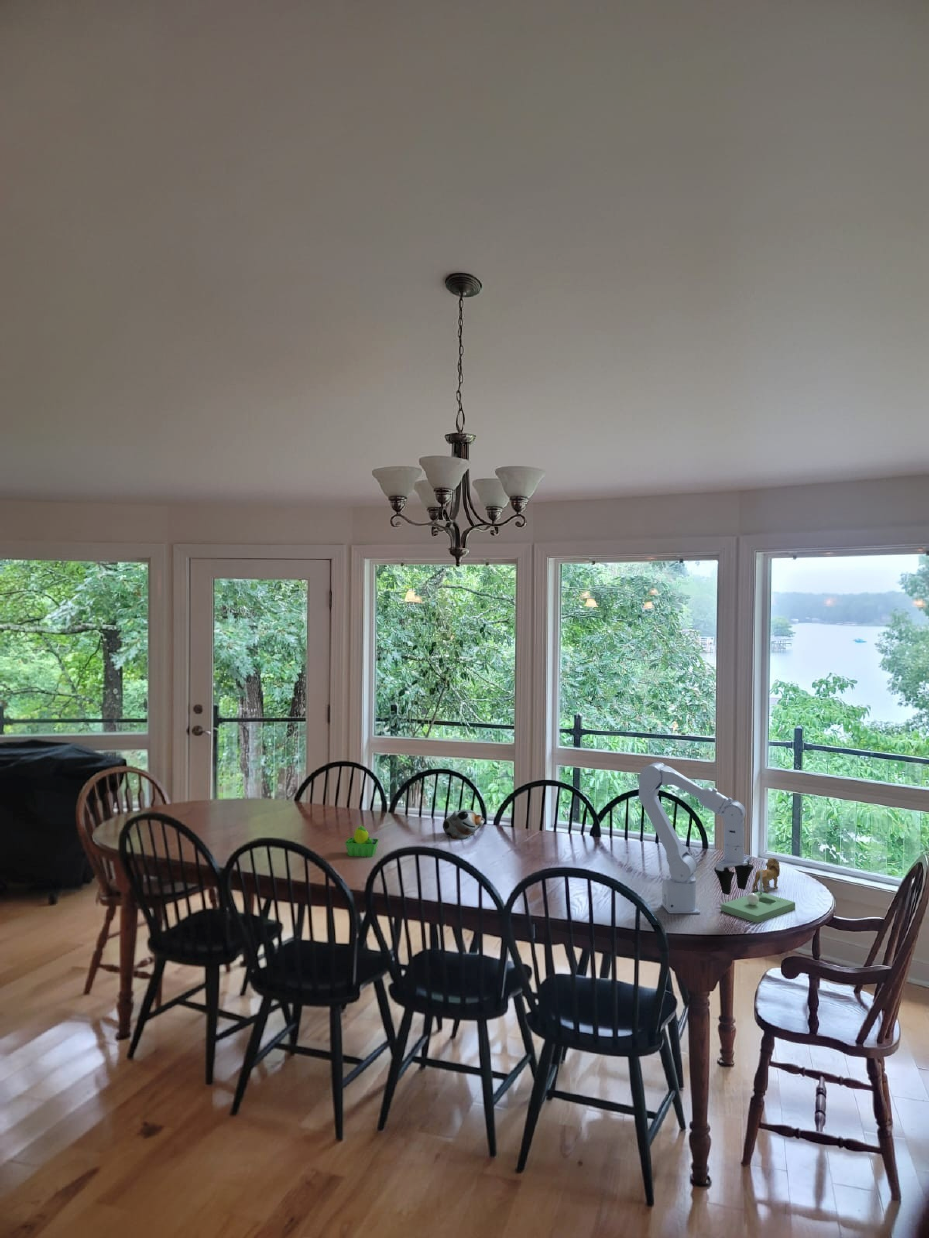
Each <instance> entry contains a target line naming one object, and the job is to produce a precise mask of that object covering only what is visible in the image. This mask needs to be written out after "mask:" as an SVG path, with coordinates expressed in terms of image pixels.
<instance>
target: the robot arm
mask: <svg viewBox="0 0 929 1238" xmlns="http://www.w3.org/2000/svg"><path fill="white" fill-rule="evenodd" d="M662 786H675V787H676V788H678V789H681V790H682V791H683V792H686V793H688V794H690V795H692V796H694V797H696V798H697V800H698V802H699V804H700V805H701V806H703V807H705V809H708V810H709V811H711V812H713V813H714V814H715V815H717V816H718V817H719V816H721V818H722V820H723V821H724V823H723V824H724V825H723V857H722V858H721V860H719V861H718V862H716V863H715V867H714V873H715V875H716V876H717V878H718V881H719V885H720V888H721V892H722V894H723V895H727V896H729V895H731V891H732V882H733V878H734V875H736V885H737V888H738V889H739V890H743V891H745V890H746V888H747V884H748V881H749V878H750V875H751V873H752V871H753V870H754V865H753V864H751V863H752V856H751V855H749V854H745V821H744V819H745V817H746V813H747V811H746V807H745V805H743V804H742V803H741V802H740V801H739V800H734V799H733V798H731V797H727V796H725V795H724V794H722V793H720V792H718V791H719V789H717V788H715V787H713V788H712V787H705V788H703V787H701V786H700V785H699V784H697V783H696V782H694V781H693V780H691V779H689V778H687V777H686V776H685V775H683V774H681V773H680V772H678V771H677V770H676V769H674V768H673V767H671V766H668V765H666V764H665V763H663V762H660V761H654V762H652V763H651V764H650V765H649V764H648V765H646V766H644V767H643V768H642V769H641V770H640V772H639V775H638V798H639V799H638V800H639V801H640V803H641V805H642V806H643V808H644V810H645V813H646V814H647V817H648V819H649V821H650V822H651V825H652V826H653V828H654V830H655V832H656V834H657V837H658V839H659V840H660V842H661V845H662V847H663V848H664V850H665V854H666V855H665V856H666V861H667V864H668V867H669V868H668V869H669V874H670V877H669V878H667V879H666V878H665V879H663V880H662V884H661V885H662V886H661V887H662V888H661V889H662V891H661V892H662V894H661V895H662V896H661V897H662V898H661V899H662V901H661V906H662V907H663V908H664V909H665V910H666V912H667V913H669V914H701V911H700V910H699V908H698V907H696V906H697V904H696V903H697V902H696V901H697V900H696V899H697V897H696V896H697V895H696V894H697V893H696V892H697V890H696V888H697V887H696V886H697V883H696V881H697V879H696V878H697V877H695V872H696V871H697V869H698V862H697V860H696V858H695V857H694V855H692V854H691V853H690V852H689V850H688V849H687V847H686V846H684V844H682V842H681V839H679V838H680V837H679V836H678V835H677V833H676V830H675V828H674V826H673V825H672V824H673V823H671V821H670V819H669V817H668V815H667V813H666V811H665V809H664V807H663V805H662V803H661V801H660V799H659V797H658V795H659V791H660V789H661V787H662ZM731 868H734V870H735V872H734V871H731V870H730V869H731Z"/></svg>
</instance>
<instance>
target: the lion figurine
mask: <svg viewBox="0 0 929 1238" xmlns="http://www.w3.org/2000/svg"><path fill="white" fill-rule="evenodd" d="M765 866H766V869H767V876H765V877H762V890H764V893H769V892H770V890H769V889H767V886H769V887H770V885H771V884H770V882H771V881H772V880H773V888H774V887H775V888H774V889H778V888H779V887H778V881H779V880H778V877H779V876H780V873H781V871H780V870H781V868H780V862H779V861H778V860H777V858H775V857H769V858H768V859H767V862H765ZM763 870H764V869H758V870H757V871H756V872H755V874H754V875H755V877H754V882H753V884H752V892H755V893H756V892H759V887H758V882H760V871H763Z"/></svg>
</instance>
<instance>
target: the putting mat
mask: <svg viewBox="0 0 929 1238" xmlns="http://www.w3.org/2000/svg"><path fill="white" fill-rule="evenodd" d="M762 870H763V871H760V880H759V890H758V892H756V891H755V892H753V893H754V894H756V895H757V896H758V898H759V902H758V904H757V905H750V904H749V903H748V902H747V899H746V898H747V895H745V896H744V895H743V896H742V897H741V896H740V897H738V898H735V899H732V900H729V901H726V902H723V903H721V905H720V910H721V912H724V913H727V914H730V915H733V916H736V917H739V918H742V919H745V920H746V921H747V920H748V921H751V922H753V923H757V924H758V923H761V922H764V921H766V920H769V919H772V918H775V917H777V916H781V915H783V914H785V913H788V912H791V911H794V910H796V902H795V901H792V900H789V899H785V898H782V897H779V896H777V895H776V896H775V895H772V894H769V893H767V892H763V883H762V877H765V876H767V868H766V869H762Z"/></svg>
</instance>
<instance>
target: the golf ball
mask: <svg viewBox="0 0 929 1238" xmlns="http://www.w3.org/2000/svg"><path fill="white" fill-rule="evenodd" d="M754 893H755V892H749V893H748V894H747V895H746V896H747V898H746V899H747V902H748V903H749V904H750V905H757V904H758V902H759V898H758V896H757V895H756V894H754Z"/></svg>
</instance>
